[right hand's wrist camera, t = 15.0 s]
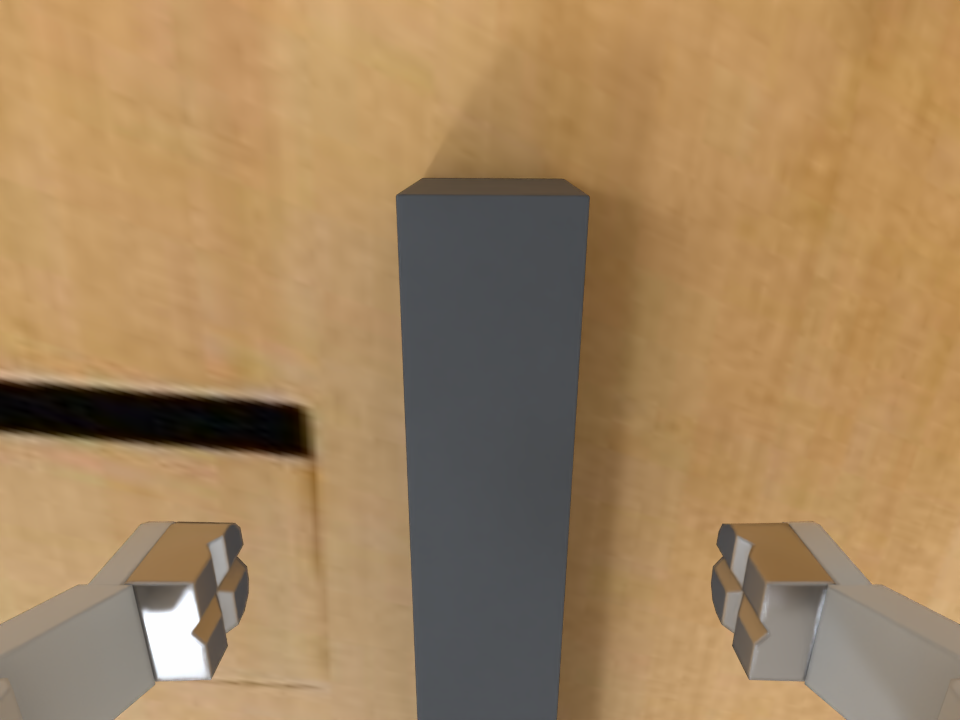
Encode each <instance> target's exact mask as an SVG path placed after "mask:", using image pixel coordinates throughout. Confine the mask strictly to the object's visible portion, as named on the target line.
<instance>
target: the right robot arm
mask: <svg viewBox="0 0 960 720" xmlns="http://www.w3.org/2000/svg"><path fill="white" fill-rule="evenodd" d="M242 546H243V539H242V534H241V529H240V527H239V526H238V525H237V524H236V523H214V522H146V523H143V524H141V525H140V526H139V527H138V528H137V529H136V530H135V531H134V532H133V534H132V535H131V536H130V537H129V538H128V539H127V540H126V542H125V543H124V544H123V545H122V546H121V547H120V548H119V550H118V551H117V552H116V553H115V554H114V555H113V556H112V558H111V559H110V560H109V561H108V562H107V563H106V564H105V566H104V567H103V568H102V569H101V570H100V571H99V572H98V574H97V575H96V576H95V577H94V578H93V579H92V580H91V582H90V583H89V584H88V585H76V586H75V587H73V588H71V589H69V590H67V591H65V592H63V593H61V594H59V595H57V596H55V597H53V598H51V599H49V600H47V601H45V602H43V603H41V604H39V605H37V606H35V607H33V608H31V609H29V610H27V611H25V612H23V613H21V614H19V615H17V616H16V617H14V618H12V619H10V620H8V621H6V622H4V623H2V624H0V720H114V719H115V718H116V717H117V716H119V715H120V714H121V713H122V712H123V711H124V710H126V709H127V708H128V707H129V706H130V705H132V704H133V703H134V702H135V701H136V700H137V699H139V698H140V697H141V696H142V695H143V694H145V693H146V692H147V691H148V690H149V689H150V688H152V687H153V686H154V685H155V681H185V680H211V679H212V677H213V675H214V673H215V671H216V669H217V667H218V665H219V663H220V661H221V658H222V656H223V654H224V652H225V650H226V648H227V646H228V644H227V639H226V633H227V632H229V631H230V630H231V629H233V628H234V627H236V626H237V625H238V624H239V622H240V620H241V618H242V615H243V613H244V611H245V607H246V602H247V598H248V592H249V577H248V570H247V566H246V565H245V564H244V563H243V562H242V561H241V560H240V559H239V558H238V557H237V555H238V553H239V552H240V550H241V548H242ZM717 546H718V548H719V550H720V552H721V553H722V555H723V557H722V558H721V559H720V560H719V561H718V562H717V563H716V564H715V565H714V566H713V571H712V579H711V589H712V599H713V603H714V607H715V610H716V613H717V616H718V618H719V620H720V622H721V624H722V625H723V626H724V627H726V628H727V629H729V630H730V631H731V632H733V633H734V638H733V644H732V646H733V648H734V650H735V652H736V654H737V656H738V658H739V660H740V662H741V664H742V666H743V668H744V670H745V672H746V674H747V676H748V678H749V680H774V681H805V685H806V686H808V687H809V688H810V689H811V690H812V691H813V692H815V693H816V694H817V695H818V696H819V697H820V698H822V699H823V700H824V701H825V702H826V703H828V704H829V705H830V706H831V707H832V708H833V709H835V710H836V711H837V712H838V713H839V714H840V715H842V716H843V717H844V718H845V719H846V720H960V624H958V623H956V622H954V621H952V620H950V619H948V618H946V617H944V616H942V615H940V614H938V613H936V612H934V611H933V610H931V609H929V608H927V607H925V606H923V605H921V604H919V603H917V602H915V601H913V600H911V599H909V598H907V597H905V596H903V595H901V594H899V593H897V592H895V591H893V590H891V589H889V588H887V587H885V586H884V585H872V584H871V583H870V582H869V580H868V579H867V578H866V577H865V576H864V575H863V574H862V572H861V571H860V570H859V569H858V568H857V567H856V566H855V564H854V563H853V562H852V561H851V560H850V559H849V558H848V556H847V555H846V554H845V553H844V552H843V551H842V550H841V548H840V547H839V546H838V545H837V544H836V543H835V542H834V540H833V539H832V538H831V537H830V536H829V535H828V534H827V532H826V531H825V530H824V529H823V528H822V527H821V526H820V525H819V524H817V523H815V522H813V521H803V522H782V523H738V524H722V526H721V528H720V530H719V533H718V538H717Z"/></svg>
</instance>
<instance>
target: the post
mask: <svg viewBox="0 0 960 720" xmlns="http://www.w3.org/2000/svg"><path fill="white" fill-rule="evenodd" d="M589 201H590V197H589V196H588V195H587V194H585V193H584V192H582V191H581V190H579V189H578V188H576V187H575V186H573V185H572V184H570V183H569V182H567V181H566V180H564V179H487V178H422V179H420V180H419V181H417V182H416V183H414V184H413V185H411V186H410V187H408V188H406V189H405V190H403V191H402V192H400V193H399V194H397V195H396V209H397V233H398V258H399V282H400V306H401V330H402V355H403V379H404V403H405V427H406V452H407V476H408V500H409V524H410V549H411V573H412V597H413V622H414V646H415V670H416V694H417V719H418V720H557V708H558V692H559V676H560V660H561V645H562V629H563V613H564V597H565V581H566V565H567V550H568V534H569V518H570V502H571V486H572V470H573V455H574V439H575V423H576V407H577V391H578V375H579V360H580V344H581V328H582V312H583V296H584V280H585V265H586V249H587V233H588V217H589Z"/></svg>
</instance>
